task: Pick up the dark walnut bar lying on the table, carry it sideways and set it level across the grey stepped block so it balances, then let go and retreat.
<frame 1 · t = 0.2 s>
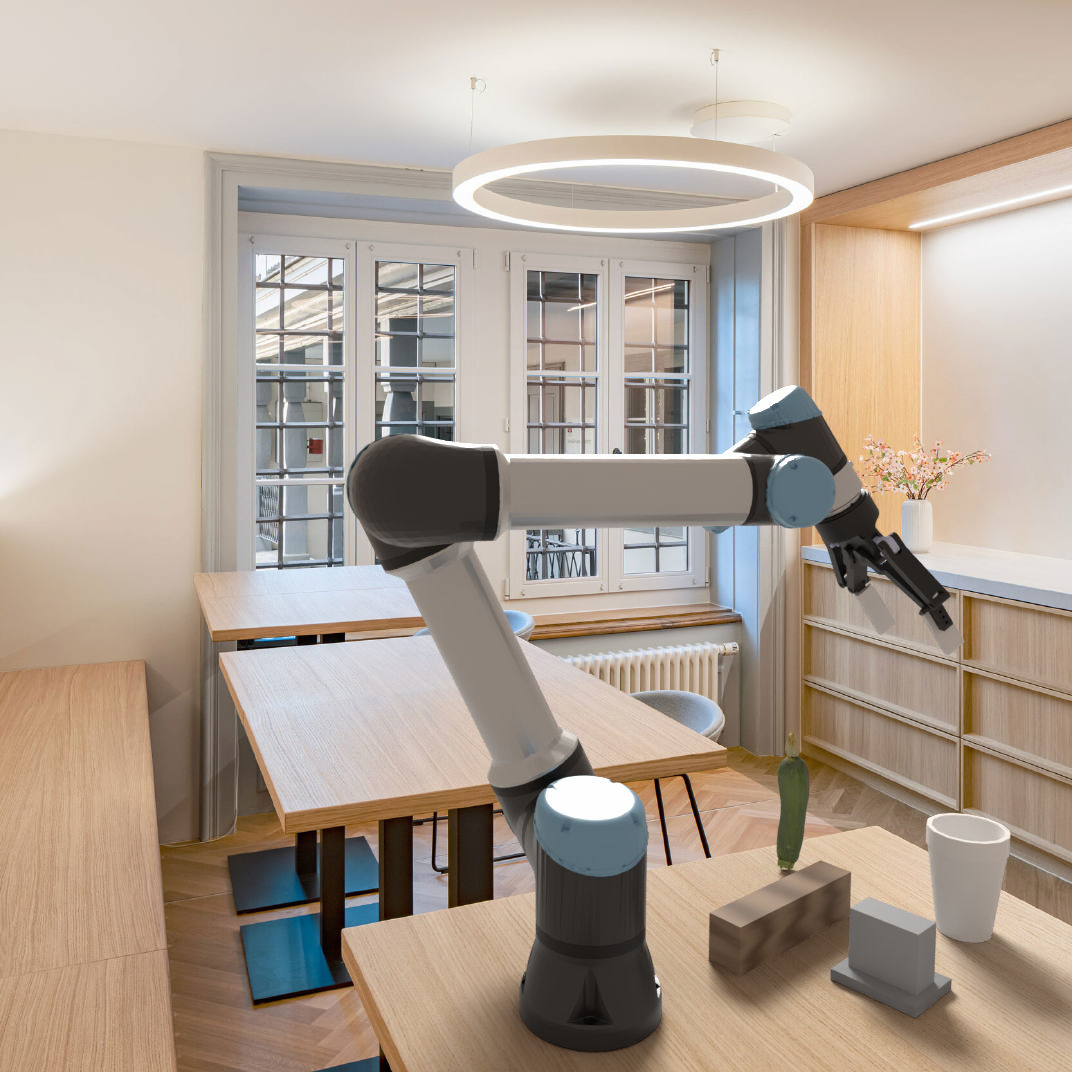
hand: (919, 637, 123), 35 cm above the table, tool tilted 35°, fingers open, 13 cm apart
vegetable: (791, 869, 136), on the table
bar: (782, 938, 118), on the table
foam cup: (963, 931, 119), on the table
grey stepped block: (890, 983, 107), on the table
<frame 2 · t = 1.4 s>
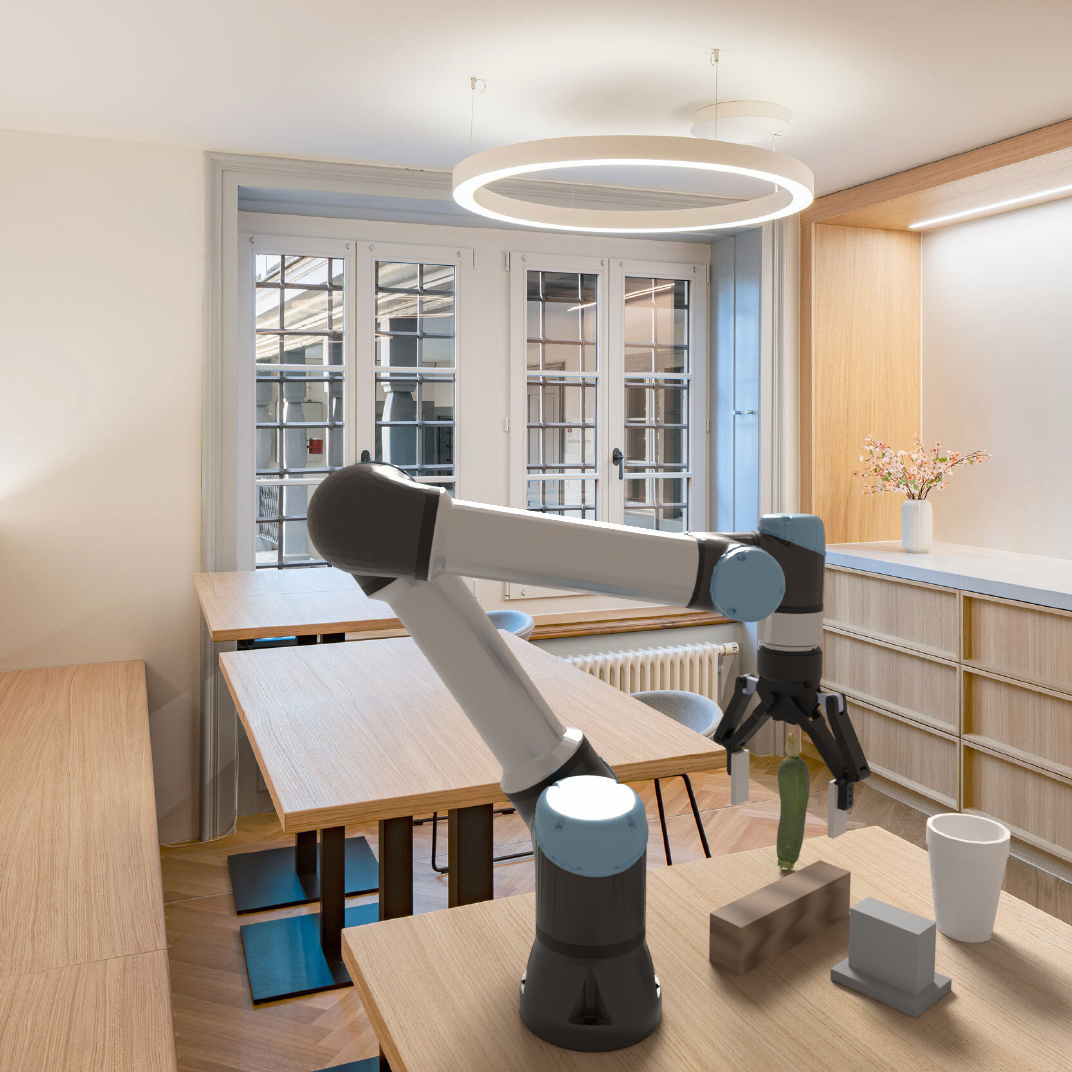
hand: (786, 818, 116), 15 cm above the table, tool pointing down, fingers open, 13 cm apart
nothing on the table moved.
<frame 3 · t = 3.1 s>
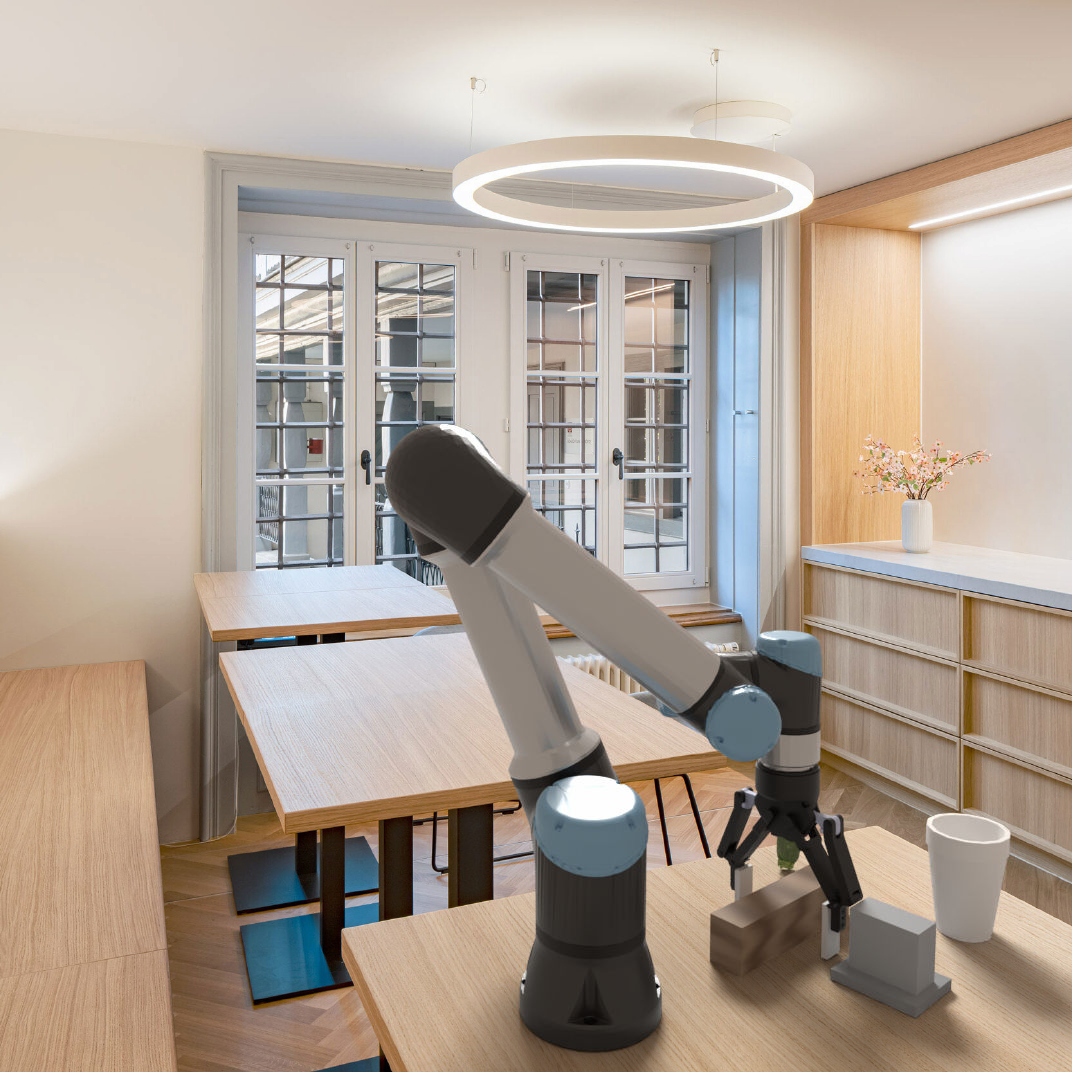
hand: (785, 935, 118), 0 cm above the table, tool pointing down, fingers open, 12 cm apart
nothing on the table moved.
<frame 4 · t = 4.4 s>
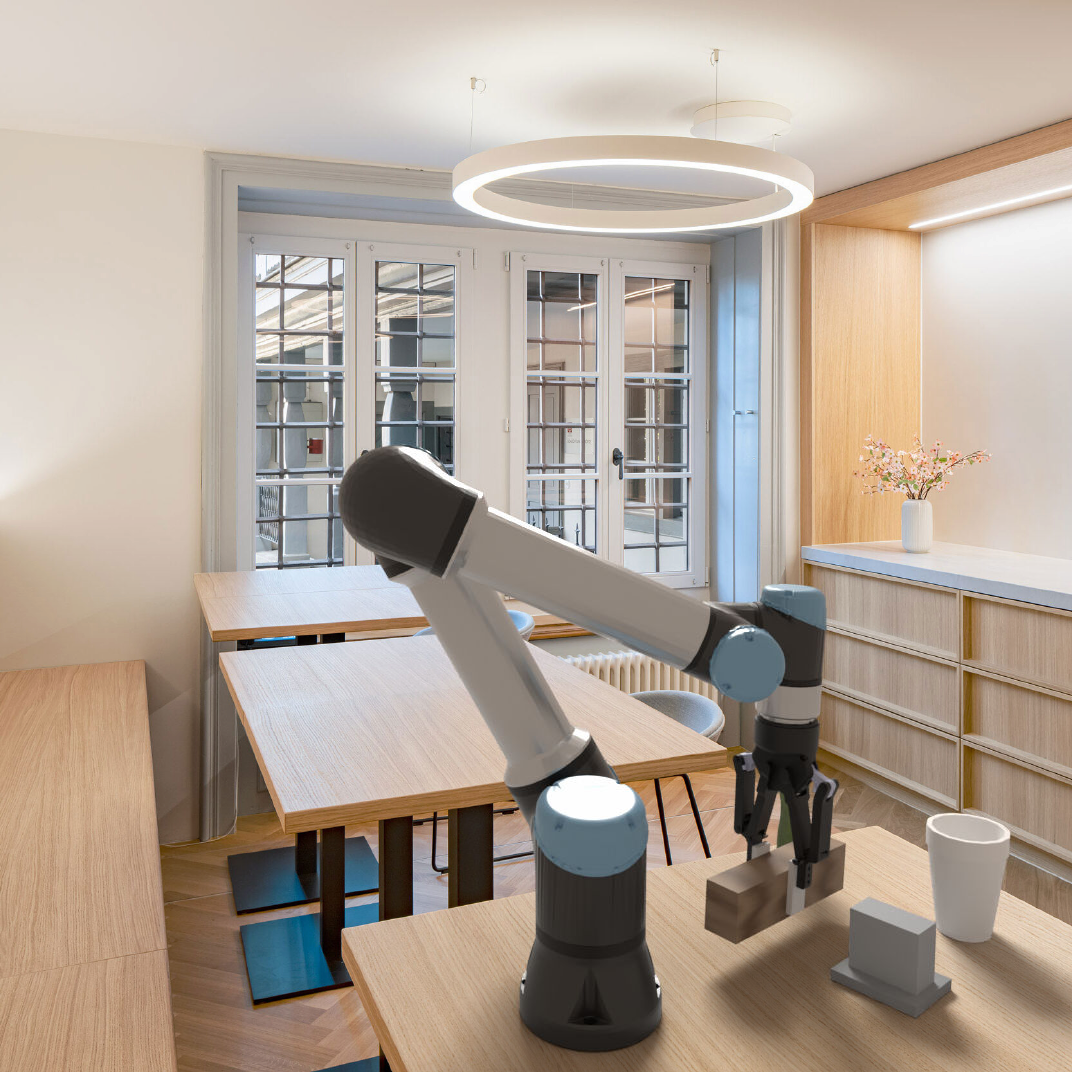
hand: (776, 902, 117), 4 cm above the table, tool pointing down, fingers closed on bar, 4 cm apart
bar: (777, 907, 117), point 4 cm above the table, touching gripper
everything else where it was.
when the fingers open (9 cm above the table, at t = 7.3 s): bar stays where it is, resting on grey stepped block.
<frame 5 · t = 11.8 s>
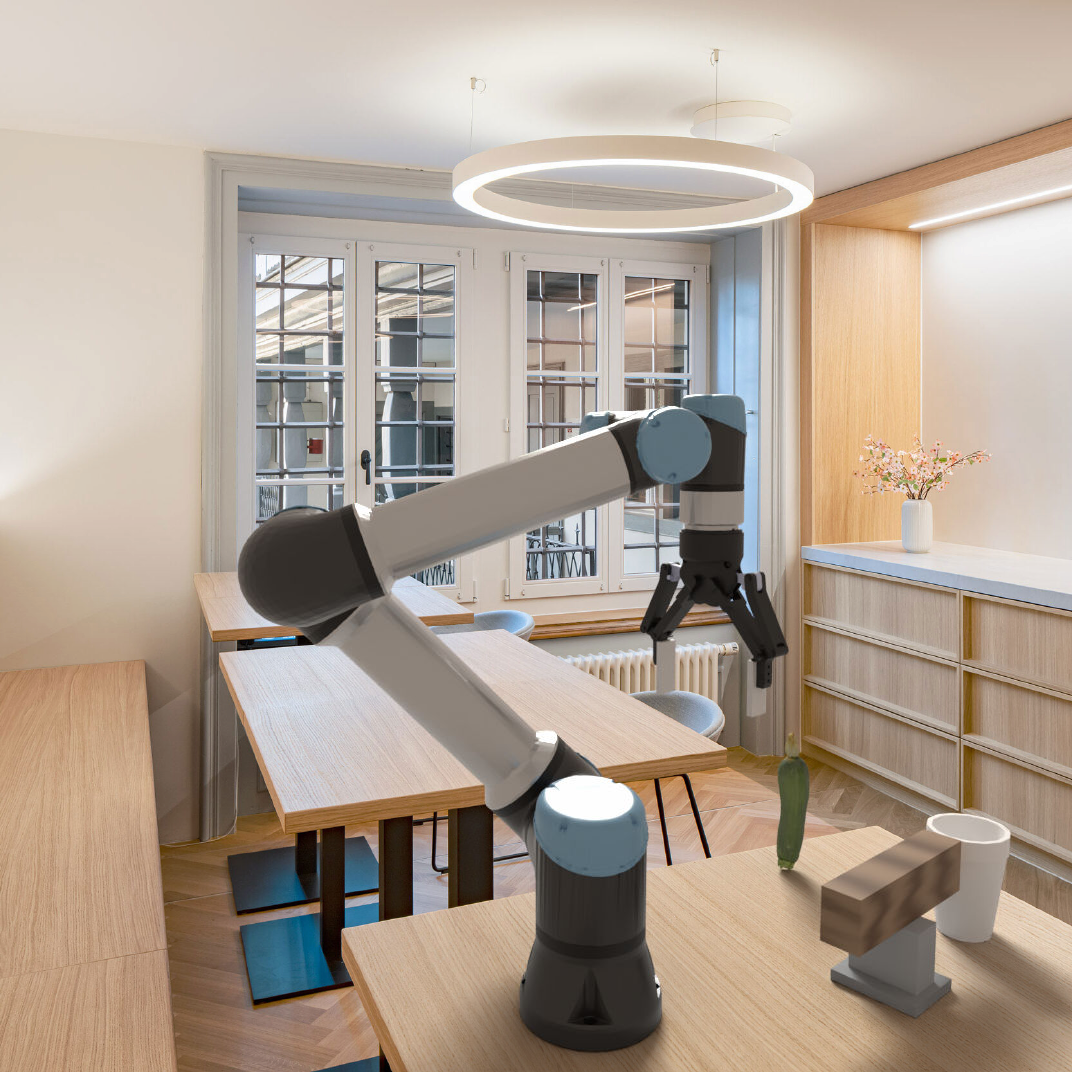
hand: (709, 703, 116), 29 cm above the table, tool pointing down, fingers open, 13 cm apart
bar: (893, 914, 107), point 8 cm above the table, touching grey stepped block
everything else where it was.
at the end: bar 0.2 cm off-centre on the grey stepped block, point 8.0 cm above the grey stepped block's base; bar tilted 0°; bar touching grey stepped block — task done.
